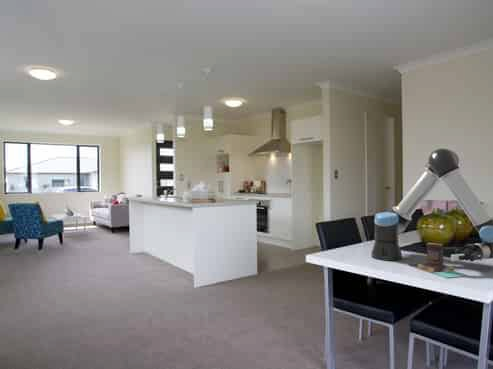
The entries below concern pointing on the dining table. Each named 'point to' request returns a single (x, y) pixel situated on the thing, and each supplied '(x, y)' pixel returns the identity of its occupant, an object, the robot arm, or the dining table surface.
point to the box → (435, 256)
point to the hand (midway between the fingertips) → (439, 254)
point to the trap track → (424, 267)
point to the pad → (450, 274)
